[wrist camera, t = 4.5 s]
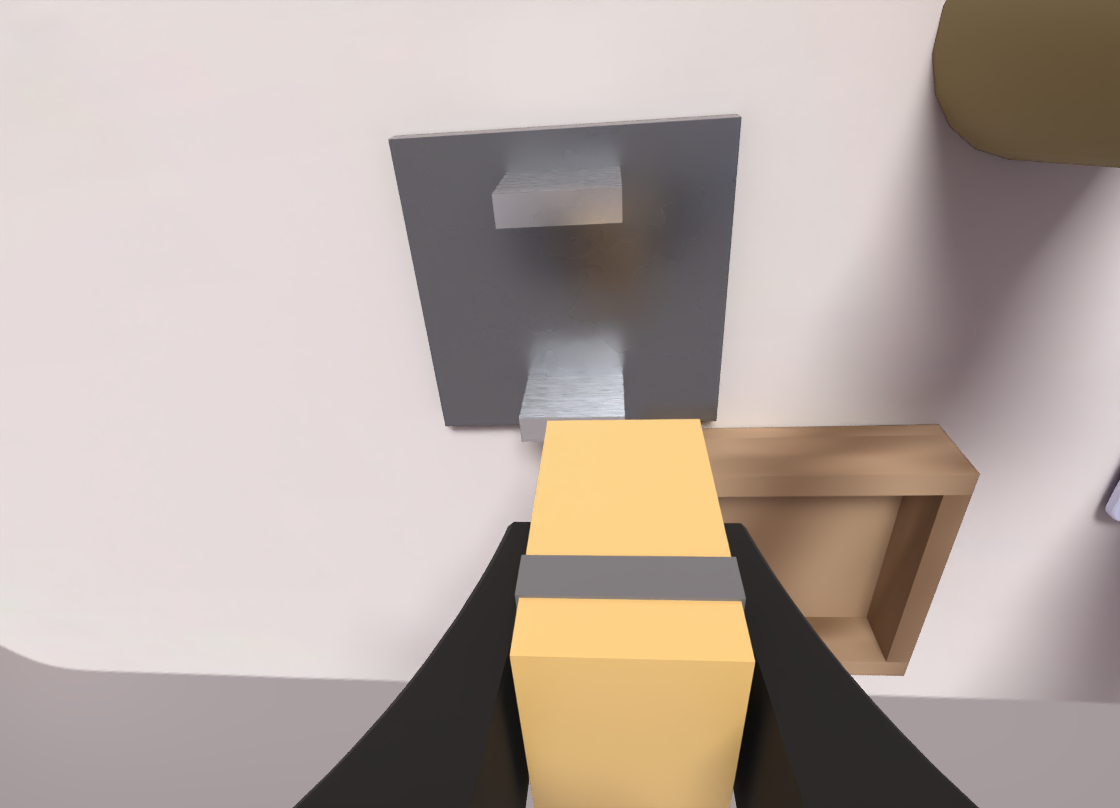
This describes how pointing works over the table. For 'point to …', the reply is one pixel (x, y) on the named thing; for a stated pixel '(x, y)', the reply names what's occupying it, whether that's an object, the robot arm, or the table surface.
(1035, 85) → the cork
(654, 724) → the block
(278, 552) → the table surface
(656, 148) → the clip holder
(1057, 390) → the table surface
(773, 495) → the tray
